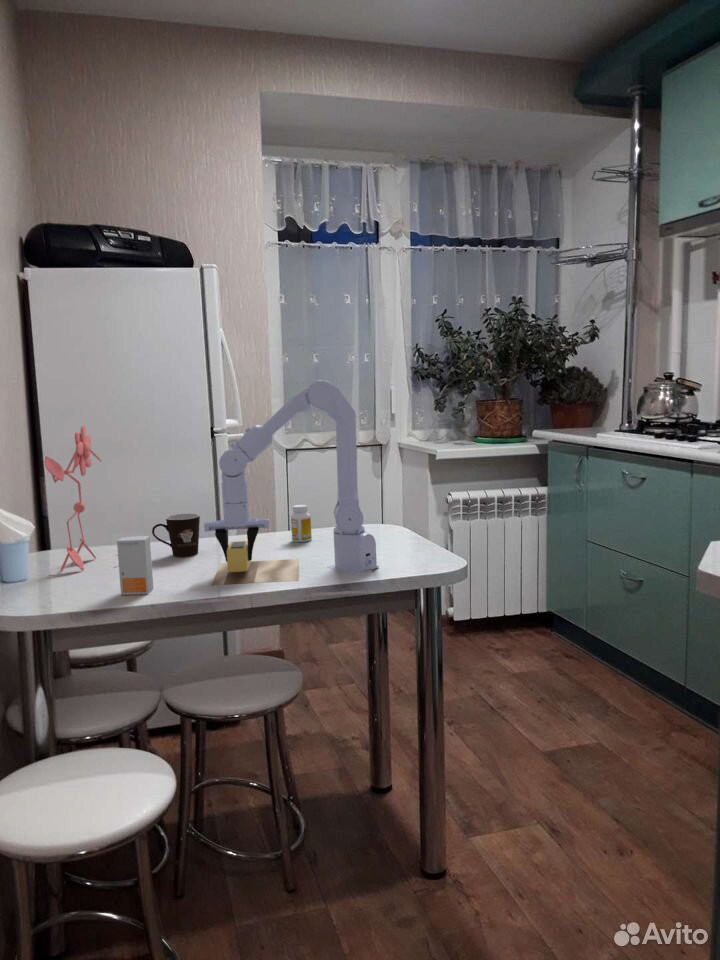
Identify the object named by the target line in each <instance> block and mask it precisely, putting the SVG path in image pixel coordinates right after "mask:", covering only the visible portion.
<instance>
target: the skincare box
mask: <svg viewBox="0 0 720 960" xmlns="http://www.w3.org/2000/svg"><path fill="white" fill-rule="evenodd" d="M116 542H117V543H116V544H117V545H116V547H117V555H118V557H117V558H118V559H117V560H118V572H119V575H118V576H119V587H120V595H121V596H125V595H126V596H127V595H135V596H136V595H149V594H150V593H151V592H152V591H153V590H154V580H153V565H152V552H151V537H150V535H137V536H136V535H135V536H122V537H120V538H119V539H117V541H116Z"/></svg>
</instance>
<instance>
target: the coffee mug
mask: <svg viewBox="0 0 720 960" xmlns="http://www.w3.org/2000/svg"><path fill="white" fill-rule="evenodd" d="M200 517H201V515H200V514H198V513H178V514H172V515H169V516H165V521H166V524H164V523H158V524H155V525H154V526H153V527H152V530H151V533H152V536H153V537H154V538H155V539H156V540H157V541H159V542H161V543H163V544H165V545H167V546H169V547H170V548H171V552H172V556H173V557H176V558H189V557H195V556H197V555H199V542H200V539H199V538H200V521H201V520H200V519H201V518H200ZM158 527H163V528H164V529H166V531H167V532H168V536H169V542H167V541H165V540H163V539H161V538H160V537H158V536H157V535H156V534H155V529H157V528H158Z"/></svg>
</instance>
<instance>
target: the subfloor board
mask: <svg viewBox="0 0 720 960" xmlns="http://www.w3.org/2000/svg"><path fill="white" fill-rule="evenodd" d="M299 576H300V558H288V559H274V560H272V559H271V560H269V559H268V560H257V561H256V560H254V561H252V560H251V561H250V565H249V569H248V571H242V572H228V564H227V562H220V564H219V566H218V567H217V571H216V573H215V575H214V578H213V580H212V582H211V584H210V586H225V585H229V586H230V585H246V584H261V583H279V582H298V581H300V580H299V579H300V577H299Z"/></svg>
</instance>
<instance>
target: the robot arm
mask: <svg viewBox="0 0 720 960" xmlns="http://www.w3.org/2000/svg"><path fill="white" fill-rule="evenodd" d="M310 405H312V407H314V408H315V409H318V410H320V411H322V412H325V413H326V414H327V416H329V417H330V418H331V419H332V420H334V422H335V433H336V434H335V436H336V467H337V468H336V471H337V475H336V476H337V479H336V480H337V502H336V505H335V507H334V510H333V517H334V520H335V524H336V526H335V527H334V528H333V549H334V550H333V551H334V564H333V565H329V566H327V567H326V568H327V569H331V570H338V571H343V572H348V573H354V574H359V573H362V572H364V571H365V572H366V571H368V570H375V569H378V568H379V567H380V565H378V564H377V562H378V561H377V542H376V539H375V537H374V535H372V533H371V534H370V533H368V532H367V531H366V530H365V526H363V524H364V515H363V512H362V510H361V507H360V501H359V491H358V460H357V459H358V456H357V454H358V453H357V452H358V451H357V415H356V412H355V409H354V408H353V406H352V405H351V404H350V403H349V401H348V400H347V398H346V397H345V395H344V394H343V392H342V391H341V390H340V389H339V388H338V387H337V386H335V385H334V384H332V383H331V382H330V381H328V380H326V379H325V380H324V379H318V380H315V381H312V383H310V385H309V386H308V387H305V388H304V389H302V390H301V391H299V392H297V393H296V394H295V395H293V396H292V397H290V399H289V400H288V401H286V402H285V404H283V406H281V407H280V408H279V409H278V410H277V411H276V413H274V414H273V415H272V416H271V417H270V418H269V419H268V420H267V421H266V422H265V423H264V424H261V425H260V424H254V425H253V426H252V427H251V426H248V427H247V428H246V429H245V430H244V431H245V433H244V434H243V435H242V436H241V437H240V438H238V440H237V441H236V442H234V441H233V442H231V444H230V445H229V446H230V448H231V449H228V450H225V451H224V452H223V454H222V455H221V456H220V458H219V461H218V463H219V464H218V465H219V469H220V471H221V480H222V482H221V493H222V495H221V496H222V511H223V512H222V513H223V519H222V520H213V521H212V520H211V521H205V522H204V523H203V526H204V527H203V528H204V529H203V530H204V532H211V531H213V532H214V531H215V532H214V535H215V538H216V540H217V541H218V543H219V545H220V547H221V549H222V551H223V554H224V558H225V563H227V548H228V546H229V531H231V530H232V531H233V530H246V537H247V539H246V540H247V541H248V561H250V562H251V561H252V560H253V549H254V545H255V542H256V539H257V536H258V534H259V531H260V529H270V519H269V518H250V510H249V496H248V495H249V494H248V493H249V490H248V482H247V477H246V476H247V475H246V468H247V466H248V464H249V463H253V462H254V461H255V460H256V459H257V458H258V457H259V456H260V455H261V454H263V453H264V451H266V450H267V449H268V448H269V447H270V446H271V445H272V443H273V435H274V434H275V433H277V432H278V431H279V430H280V429H281V428H282V427H283V426H285V425H286V424H287V423H288V422H289V421H291V419H293V418H294V417H295V416H296V415H297V414H299V413H301V412H307V411H310V410H311V406H310Z"/></svg>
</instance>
